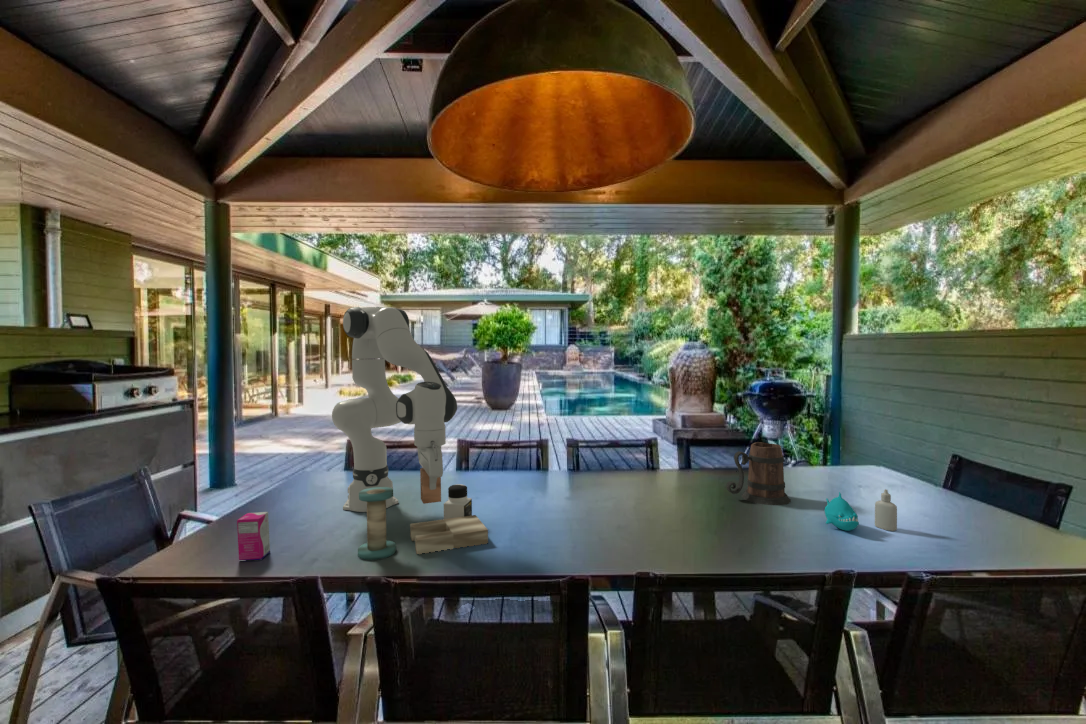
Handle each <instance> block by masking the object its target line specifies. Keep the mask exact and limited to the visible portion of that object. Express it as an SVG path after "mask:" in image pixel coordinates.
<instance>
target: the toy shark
mask: <svg viewBox="0 0 1086 724" xmlns="http://www.w3.org/2000/svg"><path fill="white" fill-rule="evenodd" d="M825 500H826V502H827V505H826V506H824V514H825V517H826V521H825V524H826V525H829V524H831V525H833V526H835V527H836V528H838V529H840V530H841V531H845V532H847V531H849V532H850V531H853V530H855V529H857V528H858V526H859V525H860V522H859V518H858V517H859V516H858V515H857V512H856V511H855V510H854V508H853V507H852V506H851V505H850V503H849V502H848V501H847V500H846V499H844V498H843V497H842V494H841V492H840V491H839V492H838V496H837V497H834V498H832V499H831V500H830V501H829V499H828V498H827V497H826V498H825Z"/></svg>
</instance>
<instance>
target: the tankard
mask: <svg viewBox="0 0 1086 724" xmlns="http://www.w3.org/2000/svg"><path fill="white" fill-rule="evenodd" d="M740 456H741V460H742V461H741V464H740V459H739V457H740ZM733 460H734V464H735V466H736V468H737V470H738V474H739V477H738V483H737V484H736V483H735V482H733V481H727V483H726V484H725V485H726V487H725V488H726V490H727V491H728V492H729V493H731V494H733V495H737V494H739V493H740V492H741V491H742V489H743V487H744V481H745V474H744V469H743V467H742V466H745V465H747V464H748V476H747V478H746V479H747V480H746V481H747V482H746V485H747V489H745V491H744V492H743V493H742V494H741V498H742V499H743V500H745V501H747V502H751V503H754V504H759V505H764V506H765V505H766V506H784V505H789V504H791V503H792V500H791V499H790V498H789V496H788V494H787V493H786V492H785V489H786V482H785V477H784V476H785V473H784V472H785V471H784V462H785V458H784V455H783V451H782V445H780V444H777V443H768V442H759V441H757V442H756V441H755V442H753V443H751V444H750V449H749V452H748V454H747V453H746V452H743V451H740V450H739V451H736V452H735V453H734V454H733Z"/></svg>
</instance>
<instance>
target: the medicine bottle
mask: <svg viewBox="0 0 1086 724" xmlns="http://www.w3.org/2000/svg"><path fill="white" fill-rule="evenodd" d="M447 493H448V494H447V497H448V499H447V500H446V501H445V502H444V503H443V519H450V518H457V517H464V516H472V515H473V505H472V504H473V501H472V500H473V498H472V497H468V486H467V485H465V484H459V483H457V484H452V485H450V486H449V487H448V488H447Z"/></svg>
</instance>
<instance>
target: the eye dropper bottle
mask: <svg viewBox="0 0 1086 724" xmlns="http://www.w3.org/2000/svg"><path fill="white" fill-rule="evenodd" d="M891 499H892V495H891V494H890V493H889V491H888V489H886V488H885V489H884V490H883V492H882V493H881V495H880V500H877V501H875V502H874V526H875V527H876V528H878V529H881V530H883V531H884V530H885V531H889V532H894V531H897V530H898V506H897V504H895V503H893V502H892V501H891Z"/></svg>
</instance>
